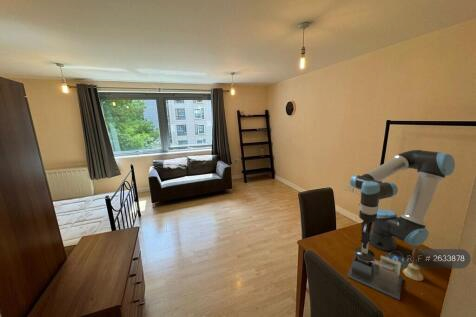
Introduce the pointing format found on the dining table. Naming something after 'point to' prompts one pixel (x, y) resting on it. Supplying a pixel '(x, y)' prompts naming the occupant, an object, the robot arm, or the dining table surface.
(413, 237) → the robot arm
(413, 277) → the hand bell
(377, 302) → the dining table surface
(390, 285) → the press stand
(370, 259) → the black ball joystick
